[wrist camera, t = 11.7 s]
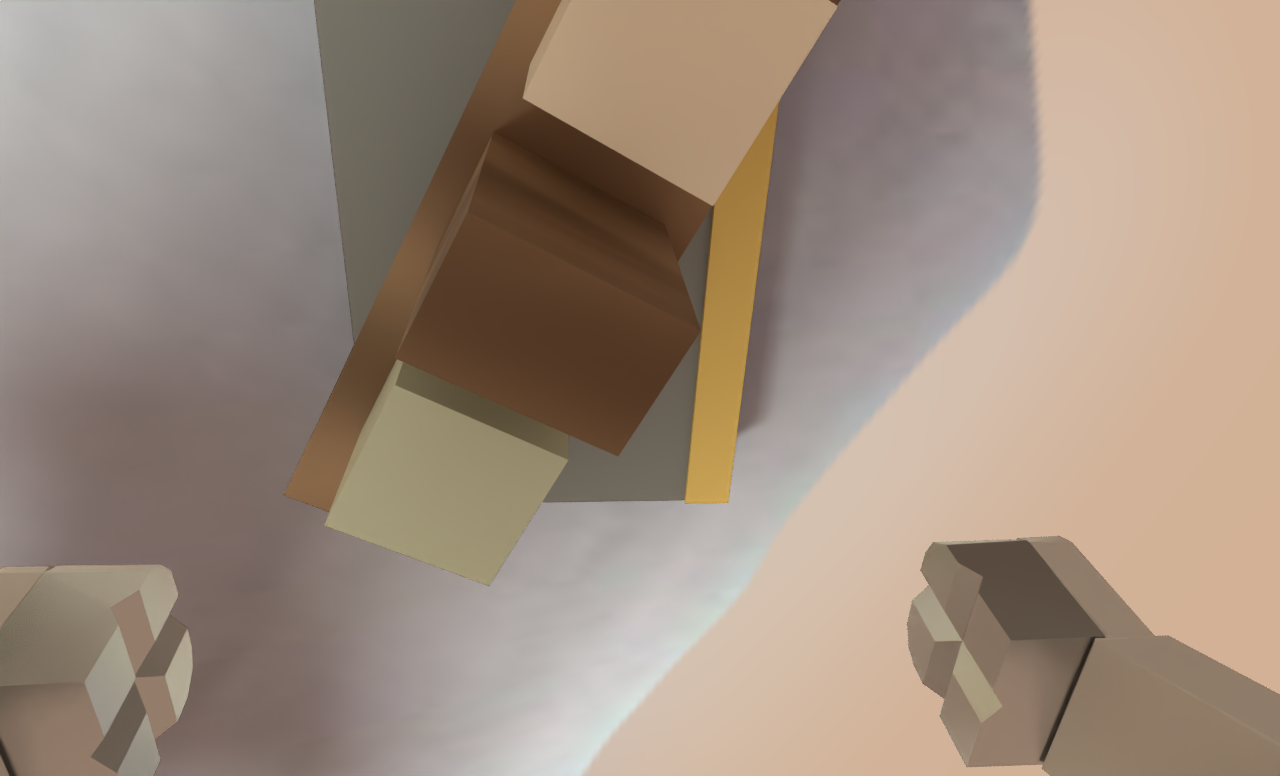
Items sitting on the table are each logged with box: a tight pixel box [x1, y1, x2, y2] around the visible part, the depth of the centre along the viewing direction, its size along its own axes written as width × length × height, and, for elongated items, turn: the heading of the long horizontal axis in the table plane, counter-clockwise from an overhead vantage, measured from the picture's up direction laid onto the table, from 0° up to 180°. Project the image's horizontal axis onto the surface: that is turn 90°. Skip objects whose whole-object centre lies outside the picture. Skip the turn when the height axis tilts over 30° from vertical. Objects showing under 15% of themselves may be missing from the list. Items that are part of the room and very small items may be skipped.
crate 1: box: [324, 360, 569, 586], centre depth 21 cm, size 4×4×4 cm
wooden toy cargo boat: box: [284, 0, 840, 512], centre depth 19 cm, size 20×6×10 cm, turn 150°
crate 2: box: [523, 0, 838, 206], centre depth 17 cm, size 4×4×4 cm
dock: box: [314, 0, 779, 504], centre depth 25 cm, size 22×12×3 cm, turn 177°
